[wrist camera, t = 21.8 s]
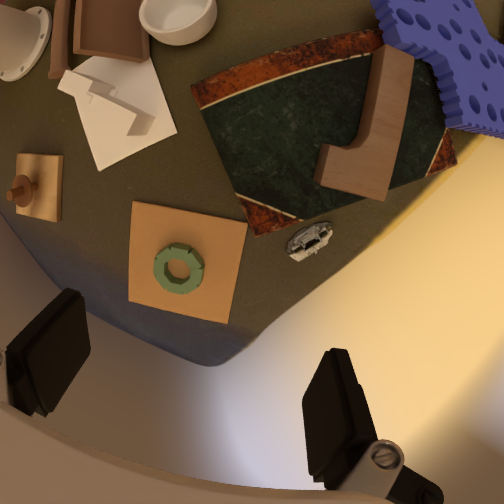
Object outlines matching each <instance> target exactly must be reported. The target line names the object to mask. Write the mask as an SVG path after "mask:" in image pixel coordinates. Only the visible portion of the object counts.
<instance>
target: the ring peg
mask: <svg viewBox="0 0 504 504" xmlns="http://www.w3.org/2000/svg"><path fill="white" fill-rule="evenodd" d="M63 158H64V156H63V155H52V154H38V153H17V162H16V177H15V179H14V180H13V183H12V189H11V190H8V191H7V193H6V197H7V199H8V201H12V200H14V201H15V203H16V213H18V214H23V215H27V216H31V217H35V218H40V219H44V220H48V221H53V222H58V221H60V220H61V195H62V172H63Z"/></svg>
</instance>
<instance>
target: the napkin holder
mask: <svg viewBox="0 0 504 504" xmlns="http://www.w3.org/2000/svg"><path fill="white" fill-rule="evenodd" d="M57 89H59V90H61V91H63V92H65V93H68V94H70V95H72V96H74V97H75V101H76V104H77V108H78V111H79V114H80V118H81V121H82V124H83V127H84V130H85V133H86V137H87V140H88V143H89V145H90V148H91V151H92V154H93V157H94V160H95V163H96V165H97V168H98V171H101V170H103V169H105V168H106V167H108V166H110V165H112V164H114V163H116V162H118V161H119V160H121V159H123V158H125V157H127V156H129V155H131V154H133V153H135V152H137V151H139V150H141V149H143V148H145V147H147V146H150V145H152V144H154V143H156V142H158V141H160V140H162V139H165V138H167V137H169V136H171V135H174V134H176V133H177V130H176V128H175V125H174V122H173V119H172V117H171V114H170V111H169V108H168V106H167V103H166V100H165V97H164V95H163V92H162V89H161V86H160V83H159V80H158V78H157V75H156V72H155V69H154V66H153V63H152V60H151V58H150V57H149V60H146V61H144V62H142V63H137V62H131V61H125V60H119V59H113V58H106V57H99V56H93V57H91V58H89V59H88V60H86V61H85V62H84V63H82V64H81V65H79V66H78V67H76V68H75V69H74V70H72V71H70V70H66V71H65V73H64V75H63V77H62V79H61V81H60V83H59V86H58V88H57Z"/></svg>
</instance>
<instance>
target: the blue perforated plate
mask: <svg viewBox="0 0 504 504" xmlns="http://www.w3.org/2000/svg"><path fill="white" fill-rule="evenodd" d="M370 2H371V5H372V7H373V9H375V10H376V11H377V12H376V13H375V16H376V19H379V20H380V23H379V24H378V25H379V28H380V29H381V30H383V32H384V33H383V34H382V37H383V40H384V44H387V45H390V46H392V47H393V48H397V49H399V50H401V51H403V52H405V53H407V54H409V55H412V56H413V57H414V58H415V59H420V58H422V60H423V61H425V62H428V63H430V64H431V65H432V67H433V71H434V75H435V76H436V77H437V78H438V82H437V86H438V88H440V90H441V94H439V95H440V99H441V100H442V101H443V104H444V106H442V109H443V113H445V114H446V119H444V120H445V125H446V127H447V128H455V129H458V130H460V129H463V130H464V131H470V132H477V133H478V134H482V133H483V135H489V136H494V137H496V138H501V139H504V45H503V44H502V43H499V42H498V41H497V40H494V39H493V38H492V37H491V36H490V35H489V33H488V31H487V29H486V26H485V24H483V22H482V17H481V16H480V15H479V11H478V9H477V8H476V7H475V3H474V1H473V0H370Z"/></svg>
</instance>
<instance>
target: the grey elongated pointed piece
mask: <svg viewBox="0 0 504 504" xmlns="http://www.w3.org/2000/svg"><path fill="white" fill-rule="evenodd" d="M306 228H307V227H306ZM323 232H324V233H325V232H327V233H325V234H324V233H323ZM321 233H323V236H321V235H322V234H321ZM331 235H332V225H331V223H327V222H324V223H319V224H318V223H316V224H313V225H312V226H310V227H309V228H308V229H305V228H303V229H301V230H300V231H299V232H297V233H296V235H295V236H294V237H293V239H292V240H291V241H289V242H288V250H287V251H286V252H287V254H288V255H289V256H291V257H292V258H293V259H295V260H297V261H298V262H299V261H301V260H303V259H305V258H307V257H308V256H310V255H311V254H313V253H314V252H315V254H317V253H318V252H317V251H316V250H319V249H320V248H322V247H323V246H325V245H326V244H328V241H327V240H328V239H329V237H330V236H331ZM313 239H316V240H318V239H319V240H320V241H319V242H317V241H315V243H314V244H313V246H309V247H308V248H307V250H305V249H304V248H305V247H306V245H305V243H307V242H308V241H310V240H313ZM321 241H322V242H321ZM299 247H300V249H299ZM296 249H297V250H298V251H296V253H295V250H296Z"/></svg>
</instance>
